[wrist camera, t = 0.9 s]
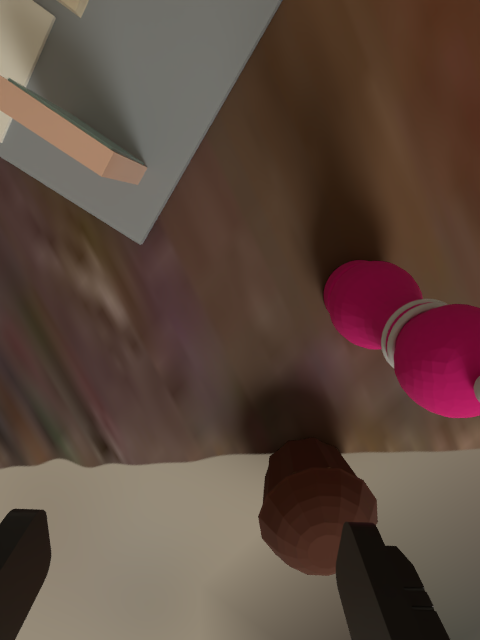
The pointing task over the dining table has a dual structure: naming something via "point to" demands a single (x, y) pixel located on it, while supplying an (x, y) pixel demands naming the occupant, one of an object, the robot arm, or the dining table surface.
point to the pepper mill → (410, 334)
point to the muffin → (311, 504)
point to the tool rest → (21, 43)
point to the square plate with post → (75, 6)
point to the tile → (69, 133)
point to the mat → (136, 94)
